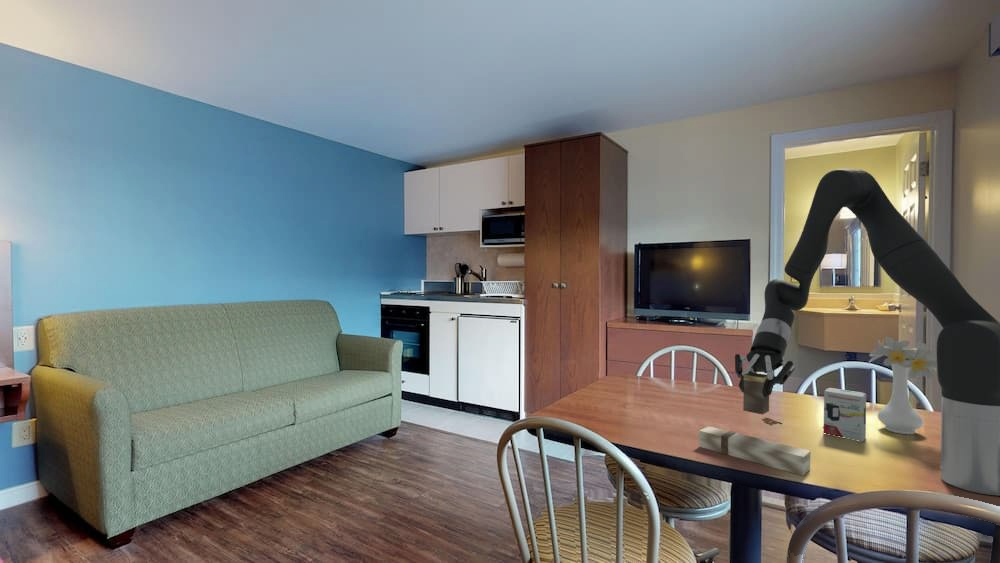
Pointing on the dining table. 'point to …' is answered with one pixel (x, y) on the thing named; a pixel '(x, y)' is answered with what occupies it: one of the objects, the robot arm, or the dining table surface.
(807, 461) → the board
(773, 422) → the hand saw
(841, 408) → the ink box
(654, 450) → the dining table surface
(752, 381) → the brown rectangular block
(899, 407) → the flower vase
